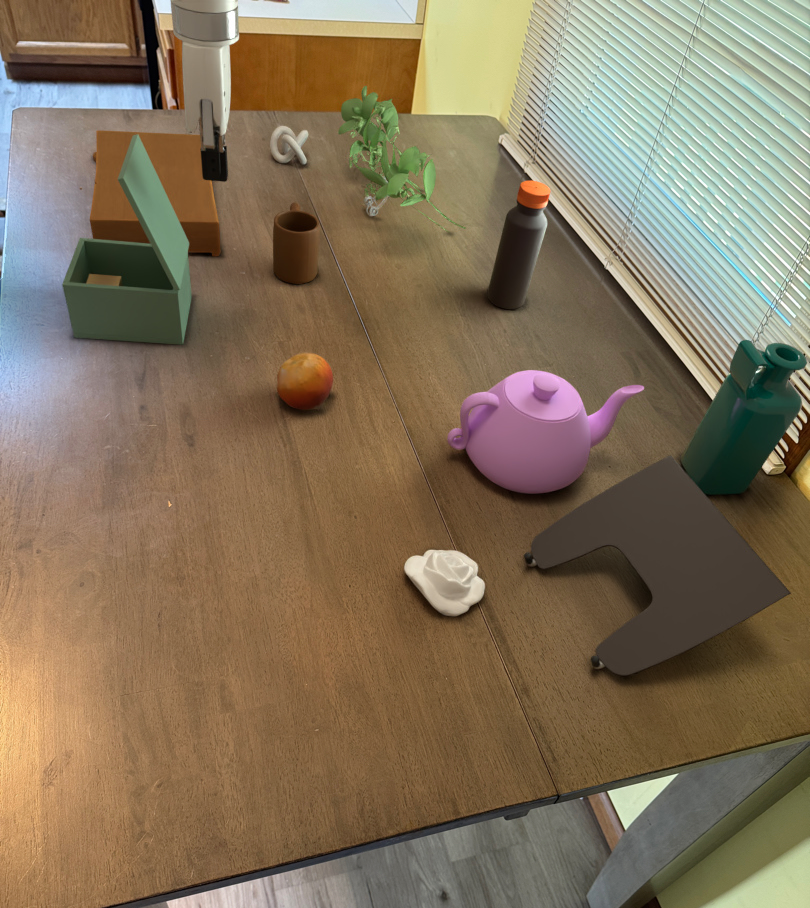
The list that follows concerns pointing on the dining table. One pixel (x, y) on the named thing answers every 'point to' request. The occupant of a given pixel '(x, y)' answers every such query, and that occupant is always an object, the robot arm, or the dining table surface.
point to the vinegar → (519, 246)
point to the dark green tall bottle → (745, 419)
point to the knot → (288, 144)
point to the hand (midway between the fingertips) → (215, 177)
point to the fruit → (305, 381)
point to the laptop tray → (665, 564)
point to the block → (104, 280)
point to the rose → (446, 580)
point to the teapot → (533, 431)
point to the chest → (125, 294)
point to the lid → (154, 211)
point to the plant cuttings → (385, 153)
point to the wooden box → (178, 176)
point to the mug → (295, 245)
